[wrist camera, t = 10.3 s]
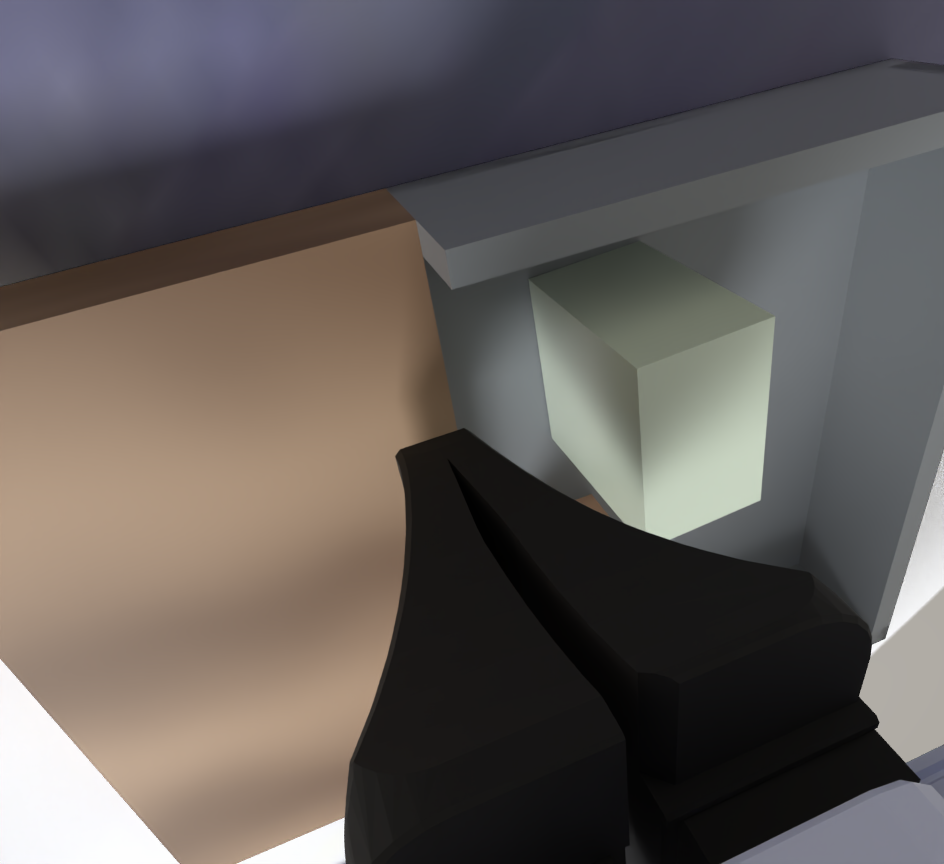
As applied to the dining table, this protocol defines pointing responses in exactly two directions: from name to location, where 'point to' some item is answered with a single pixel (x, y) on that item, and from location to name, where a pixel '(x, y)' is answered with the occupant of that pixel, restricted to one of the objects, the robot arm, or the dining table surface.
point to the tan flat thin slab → (217, 510)
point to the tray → (747, 275)
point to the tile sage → (655, 386)
